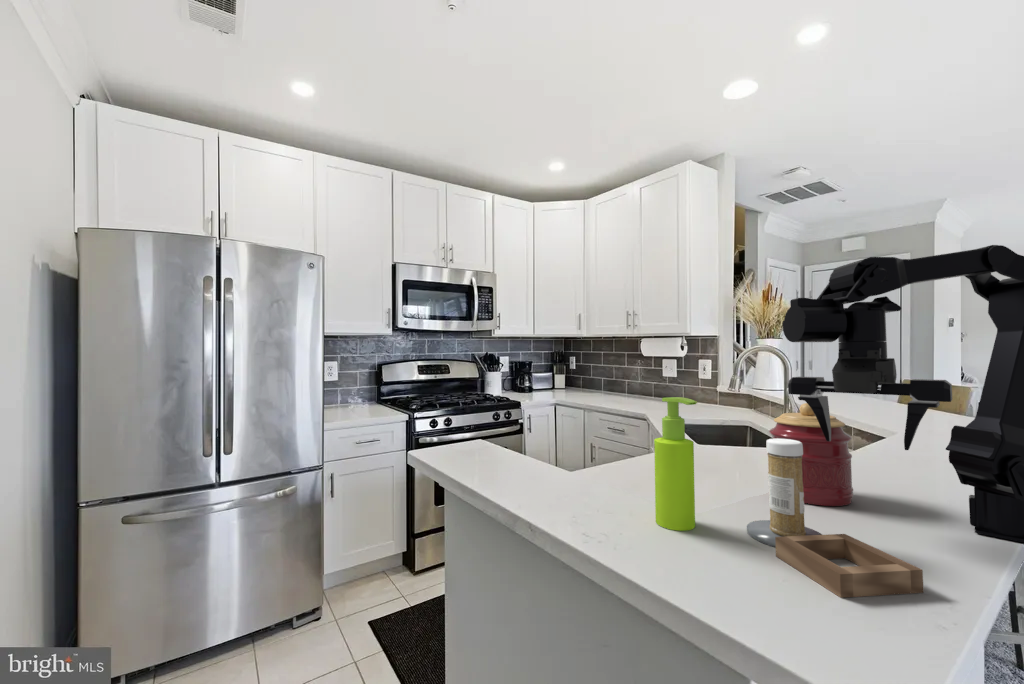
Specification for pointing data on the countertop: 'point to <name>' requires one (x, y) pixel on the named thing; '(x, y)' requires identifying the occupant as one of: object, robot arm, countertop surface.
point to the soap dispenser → (674, 471)
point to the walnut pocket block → (866, 579)
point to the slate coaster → (768, 532)
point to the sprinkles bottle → (785, 487)
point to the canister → (819, 457)
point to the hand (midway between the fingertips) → (865, 445)
